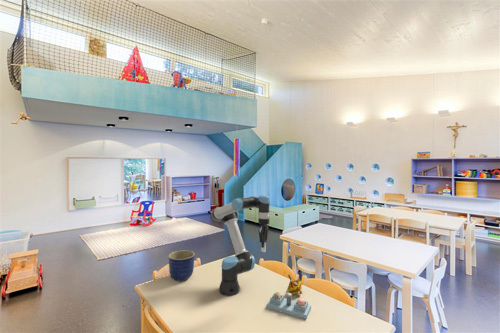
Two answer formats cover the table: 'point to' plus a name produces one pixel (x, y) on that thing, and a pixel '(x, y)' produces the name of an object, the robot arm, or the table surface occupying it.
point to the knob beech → (277, 296)
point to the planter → (181, 264)
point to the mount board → (289, 307)
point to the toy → (294, 286)
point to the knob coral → (301, 302)
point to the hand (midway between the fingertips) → (263, 251)
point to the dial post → (288, 299)
